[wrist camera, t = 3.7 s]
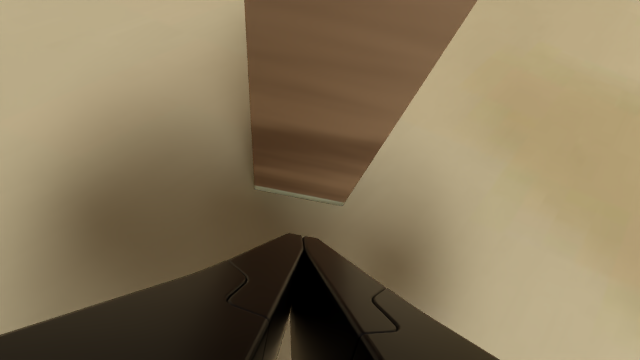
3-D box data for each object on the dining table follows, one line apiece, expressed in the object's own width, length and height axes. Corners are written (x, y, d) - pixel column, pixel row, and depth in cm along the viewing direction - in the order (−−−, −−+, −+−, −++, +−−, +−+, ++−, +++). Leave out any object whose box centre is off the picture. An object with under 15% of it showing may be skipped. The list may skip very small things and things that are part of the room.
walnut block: (342, 206, 20) (490, -20, 7) (254, 189, 19) (239, -83, 6) (351, 131, 22) (479, -148, 9) (272, 115, 21) (288, -203, 9)
